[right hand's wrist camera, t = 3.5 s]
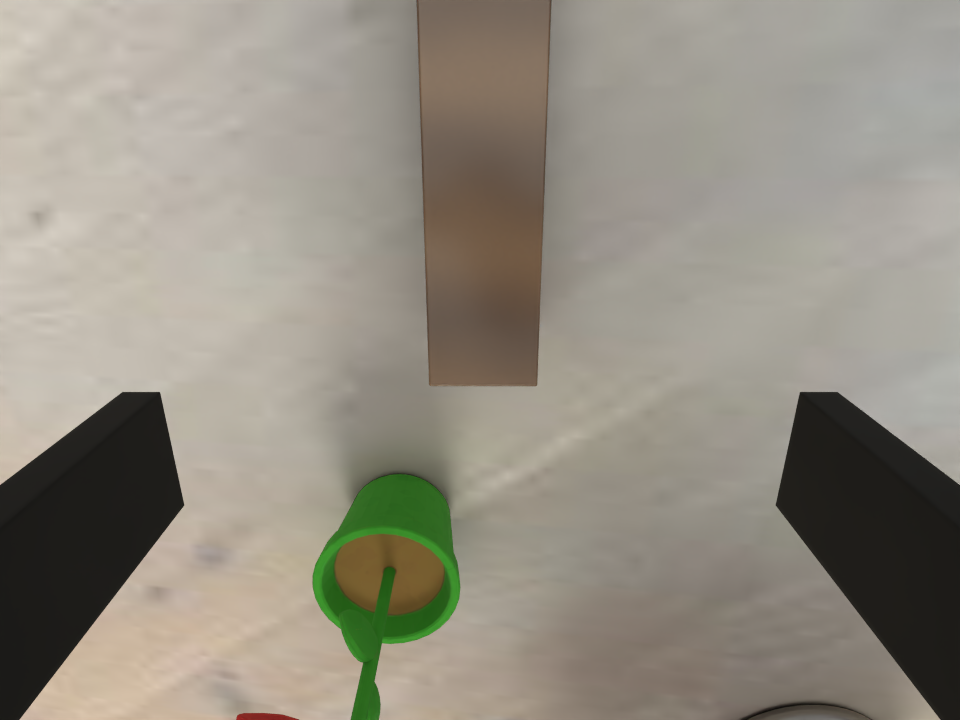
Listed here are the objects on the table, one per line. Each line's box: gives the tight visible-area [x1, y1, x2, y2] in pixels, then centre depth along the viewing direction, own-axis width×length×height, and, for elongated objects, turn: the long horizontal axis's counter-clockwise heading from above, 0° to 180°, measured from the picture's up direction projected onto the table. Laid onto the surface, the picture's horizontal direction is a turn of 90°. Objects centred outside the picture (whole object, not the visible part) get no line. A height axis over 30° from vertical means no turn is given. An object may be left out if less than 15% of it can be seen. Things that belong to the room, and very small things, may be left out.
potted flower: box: [236, 474, 460, 720], centre depth 27 cm, size 9×8×25 cm
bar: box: [417, 0, 551, 386], centre depth 25 cm, size 28×5×8 cm, turn 0°
